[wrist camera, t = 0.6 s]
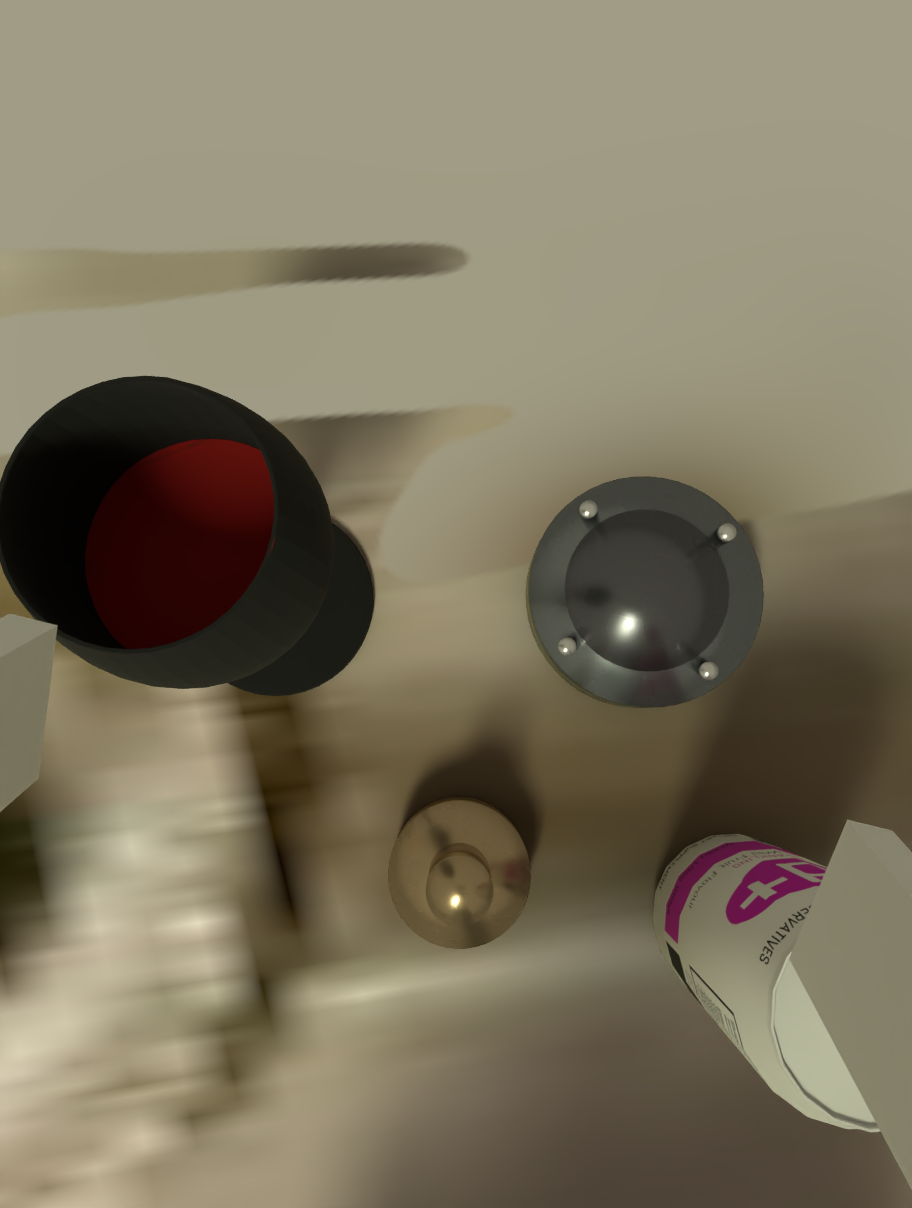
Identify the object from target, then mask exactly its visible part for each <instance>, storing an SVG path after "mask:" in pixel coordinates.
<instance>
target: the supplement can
mask: <svg viewBox="0 0 912 1208" xmlns="http://www.w3.org/2000/svg"><path fill="white" fill-rule="evenodd" d="M826 869H827V867H825V866H823V865H820V864H818V863H816V862H813V861H811V860H808V859H806V858H804V857H801V856H799V855H796V854H794V853H792V852H789V851H787V850H785V849H782V848H780V847H777V846H775V845H773V844H770V843H768V842H765V841H762V840H758V839H755V838H752V837H748V836H745V835H741V834H726V835H712V836H709V837H707V838H704V839H702V840H700V841H698V842H696V843H694V844H691V845H689V846H687V847H685V848H684V849H683V850H682V852H681V853H680V854H679V855H678V856H677V857H676V858H675V859H674V860H673V861H672V862H671V863H670V864H669V865H668V866H667V867H666V869H665V871H664V873H663V876H662V878H661V880H660V882H659V885H658V887H657V889H656V892H655V897H654V911H653V925H654V929H655V933H656V937H657V940H658V944H659V948H660V951H661V953H662V954H663V956H664V957H665V959H666V960H667V962H668V963H669V965H670V966H671V968H672V969H673V971H674V972H675V973H676V975H677V976H678V978H679V979H680V980H681V981H682V982H683V984H684V985H685V986H686V987H687V988H688V990H689V991H690V992H691V993H692V994H693V996H694V997H695V998H696V999H697V1000H698V1002H699V1003H700V1004H701V1005H702V1006H703V1008H704V1009H705V1010H706V1011H707V1012H708V1014H709V1015H710V1016H711V1017H712V1018H713V1020H714V1021H715V1022H716V1023H717V1024H718V1026H719V1027H720V1028H721V1029H722V1030H723V1032H724V1033H725V1034H726V1035H727V1036H728V1038H729V1039H730V1040H731V1041H732V1042H733V1044H734V1045H735V1046H736V1047H737V1048H738V1050H739V1051H740V1052H741V1053H742V1054H743V1056H744V1057H745V1058H746V1059H747V1060H748V1062H749V1063H750V1064H751V1065H752V1067H753V1068H754V1069H755V1070H756V1071H757V1073H758V1074H759V1075H760V1076H761V1077H762V1079H763V1080H764V1081H765V1082H766V1083H767V1085H768V1086H769V1087H770V1088H771V1089H772V1091H773V1092H775V1093H776V1094H777V1095H779V1096H780V1097H781V1098H783V1099H784V1100H785V1101H787V1102H788V1103H789V1104H791V1105H792V1106H793V1107H795V1108H796V1109H797V1110H799V1111H800V1112H801V1113H803V1114H804V1115H805V1116H807V1117H809V1118H812V1119H815V1120H819V1121H822V1122H825V1123H828V1124H832V1125H835V1126H838V1127H841V1128H845V1129H861V1130H864V1131H867V1132H881V1131H880V1129H879V1127H878V1126H877V1124H876V1122H875V1120H874V1118H873V1116H872V1114H871V1112H870V1111H869V1109H868V1107H867V1105H866V1103H865V1101H864V1099H863V1097H862V1095H861V1094H860V1092H859V1090H858V1088H857V1086H856V1084H855V1082H854V1080H853V1078H852V1077H851V1075H850V1073H849V1071H848V1069H847V1067H846V1065H845V1063H844V1061H843V1060H842V1058H841V1056H840V1054H839V1052H838V1050H837V1048H836V1046H835V1044H834V1043H833V1041H832V1039H831V1037H830V1035H829V1033H828V1031H827V1029H826V1027H825V1026H824V1024H823V1022H822V1020H821V1018H820V1016H819V1014H818V1012H817V1010H816V1009H815V1007H814V1005H813V1003H812V1001H811V999H810V997H809V995H808V993H807V992H806V990H805V988H804V986H803V984H802V982H801V980H800V978H799V977H798V975H797V973H796V971H795V969H794V967H793V965H792V963H791V961H790V960H789V957H790V955H791V953H792V950H793V948H794V945H795V943H796V941H797V938H798V936H799V934H800V931H801V929H802V926H803V924H804V922H805V919H806V917H807V915H808V912H809V910H810V907H811V905H812V903H813V900H814V898H815V895H816V893H817V891H818V888H819V886H820V884H821V881H822V879H823V876H824V874H825V872H826Z"/></svg>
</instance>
